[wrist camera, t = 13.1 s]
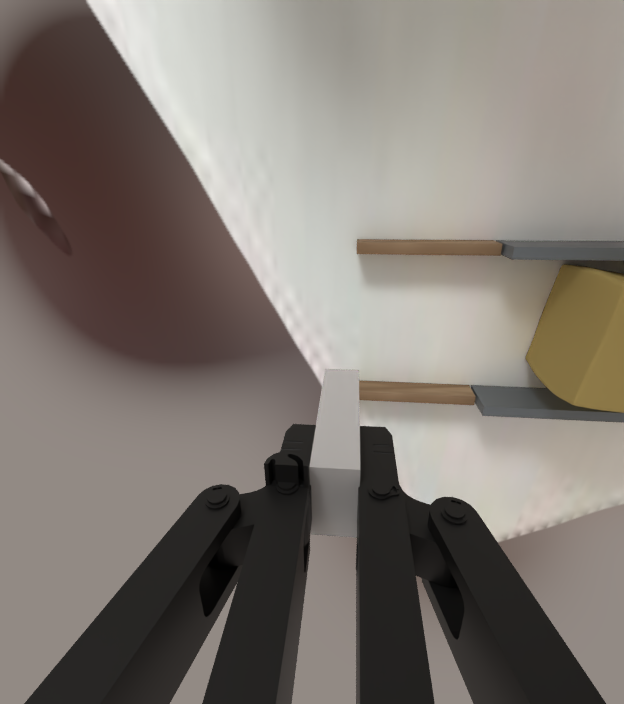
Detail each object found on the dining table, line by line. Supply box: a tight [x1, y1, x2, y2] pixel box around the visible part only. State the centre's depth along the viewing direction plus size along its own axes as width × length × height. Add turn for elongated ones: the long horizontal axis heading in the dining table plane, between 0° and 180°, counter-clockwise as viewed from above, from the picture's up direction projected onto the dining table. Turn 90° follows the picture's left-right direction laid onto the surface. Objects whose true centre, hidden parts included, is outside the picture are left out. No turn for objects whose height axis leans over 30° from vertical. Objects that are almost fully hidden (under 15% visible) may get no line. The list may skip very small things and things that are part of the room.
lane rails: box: [357, 239, 503, 405], centre depth 39 cm, size 16×12×2 cm
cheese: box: [526, 264, 624, 413], centre depth 34 cm, size 10×11×10 cm
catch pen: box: [471, 240, 624, 422], centre depth 36 cm, size 16×17×4 cm
